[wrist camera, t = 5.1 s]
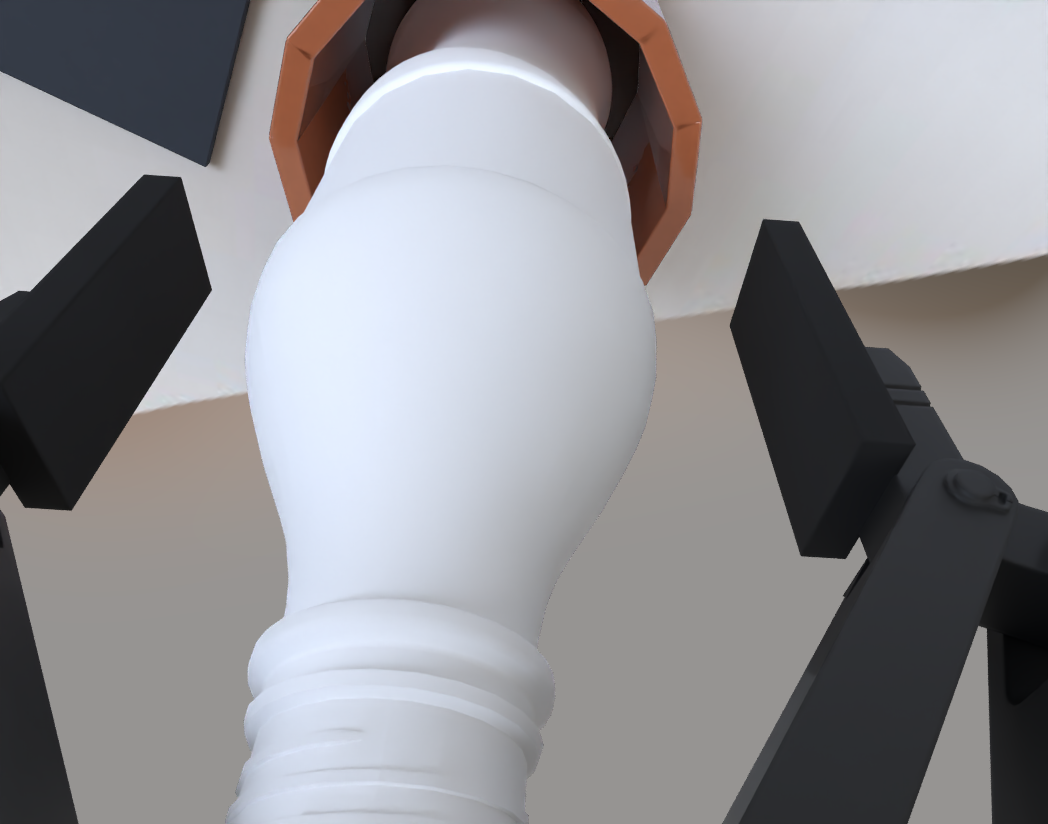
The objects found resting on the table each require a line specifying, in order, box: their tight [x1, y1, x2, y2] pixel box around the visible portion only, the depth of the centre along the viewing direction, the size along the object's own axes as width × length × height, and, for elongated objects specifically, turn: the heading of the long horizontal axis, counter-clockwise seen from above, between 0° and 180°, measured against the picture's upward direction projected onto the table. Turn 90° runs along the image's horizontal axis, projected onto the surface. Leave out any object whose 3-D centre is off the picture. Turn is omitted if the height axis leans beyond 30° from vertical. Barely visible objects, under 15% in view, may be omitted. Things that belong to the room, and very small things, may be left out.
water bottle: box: [225, 0, 657, 824], centre depth 16 cm, size 7×7×25 cm
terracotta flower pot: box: [269, 0, 702, 286], centre depth 22 cm, size 11×11×9 cm
